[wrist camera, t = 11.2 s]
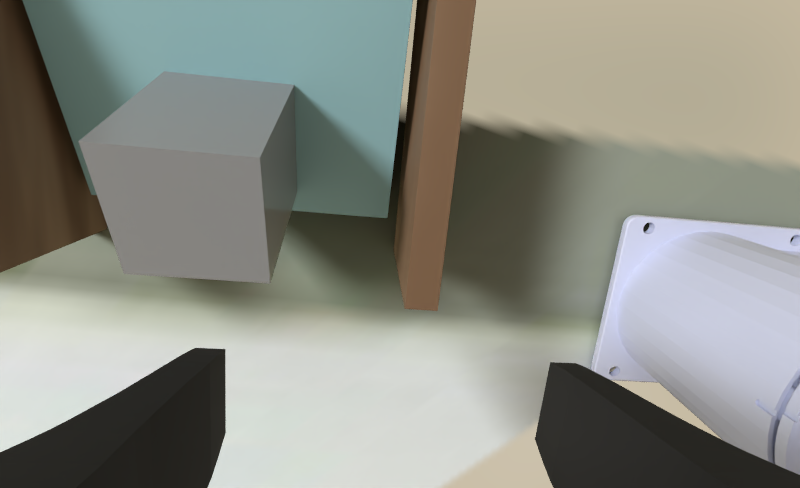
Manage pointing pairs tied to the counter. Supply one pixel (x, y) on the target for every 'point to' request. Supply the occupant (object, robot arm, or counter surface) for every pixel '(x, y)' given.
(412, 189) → the stand
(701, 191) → the counter surface
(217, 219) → the slate block
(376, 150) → the trapdoor flap
